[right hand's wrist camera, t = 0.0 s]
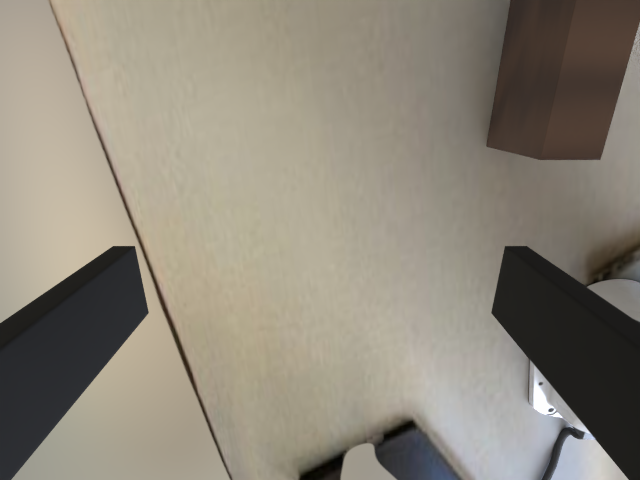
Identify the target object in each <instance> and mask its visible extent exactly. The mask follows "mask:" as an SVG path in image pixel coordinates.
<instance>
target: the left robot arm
mask: <svg viewBox="0 0 640 480" xmlns="http://www.w3.org/2000/svg"><path fill="white" fill-rule="evenodd" d="M587 288H589V289H590V290H592V291H593V292H595V293H596V294H597V295H599V296H600V297H602V298H603V299H605V300H606V301H608V302H609V303H611V304H612V305H614V306H615V307H617V308H618V309H619V310H621V311H622V312H624V313H625V314H627V315H628V316H630V317H631V318H633V319H635V320H637V321H639V322H640V283H639V282H637V281H633V280H628V279H612V280H606V281H601V282H598V283H595V284H592V285H589V286H587ZM529 404H530V405H531V406H532V407H533V408H534V409H535V410H536V411H538V412H540V413H543V414H545V415H549V416H553V417H560V418H563V419H564V420H565V421H567V422H568V423H569V424H570V425H571V426H572V427H573V428H574V429H573V428H571V427H568V428H565V429H563V430H562V431H561V433H560V434H559V436H558V439H557V441H556V443H555V445H554V449H553V453H552V456H551V460H550V463H549V465H548V467H547V469H546V471H545V474H544V476H543V478H542V480H550V479H551V477H552V475H553V473H554V471H555V469H556V466H557V463H558V460H559V456H560V452H561V449H562V446H563V443H564V441H565V439H566V438H567V437H568V436H569V435H572V436H573V437H575V438H577V439H595V438H594V437H593V436H592V434H591V433H590V432H589V431H588V429H587V428H586V427H585V426H584V425H583V423H582V422H581V421H580V420H579V419H578V417H577V416H576V415H575V414H574V413H573V411H572V410H571V409H570V408H569V406H568V405H567V404H566V403H565V402H564V400H563V399H562V398H561V397H560V396H559V394H558V393H557V392H556V391H555V389H554V388H553V387H552V386H551V385H550V383H549V382H548V381H547V380H546V379H545V377H544V376H543V375H542V374H541V372H540V371H539V370H538V369H537V368H536V366H535V365H534V364H533V363H532V362H531V360H530V379H529Z"/></svg>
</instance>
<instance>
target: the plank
mask: <svg viewBox="0 0 640 480" xmlns="http://www.w3.org/2000/svg"><path fill="white" fill-rule="evenodd" d="M639 22H640V0H511V3H510V9H509V15H508V21H507V27H506V33H505V39H504V45H503V51H502V57H501V63H500V69H499V75H498V81H497V87H496V93H495V99H494V105H493V111H492V117H491V123H490V129H489V135H488V141H487V147H491V148H495V149H499V150H503V151H507V152H511V153H515V154H519V155H523V156H527V157H531V158H535V159H539V160H600V159H601V155H602V152H603V148H604V145H605V141H606V138H607V134H608V131H609V127H610V124H611V120H612V117H613V113H614V110H615V106H616V103H617V99H618V96H619V92H620V89H621V85H622V82H623V78H624V75H625V71H626V68H627V64H628V61H629V57H630V54H631V50H632V47H633V43H634V40H635V36H636V33H637V29H638V26H639Z"/></svg>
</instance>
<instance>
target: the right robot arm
mask: <svg viewBox="0 0 640 480" xmlns="http://www.w3.org/2000/svg"><path fill="white" fill-rule="evenodd" d="M491 313H492V314H493V315H494V317H495V318H496V319H497V320H498V322H499V323H500V324H501V325H502V326H503V328H504V329H505V330H506V331H507V332H508V334H509V335H510V336H511V337H512V339H513V340H514V341H515V342H516V343H517V345H518V346H519V347H520V348H521V349H522V351H523V352H524V353H525V354H526V356H527V357H528V358H529V359H530V360H531V362H532V363H533V364H534V365H535V366H536V368H537V369H538V370H539V371H540V372H541V374H542V375H543V376H544V377H545V379H546V380H547V381H548V382H549V383H550V385H551V386H552V387H553V388H554V389H555V391H556V392H557V393H558V394H559V396H560V397H561V398H562V399H563V400H564V402H565V403H566V404H567V405H568V406H569V408H570V409H571V410H572V411H573V413H574V414H575V415H576V416H577V417H578V419H579V420H580V421H581V422H582V423H583V425H584V426H585V427H586V428H587V429H588V431H589V432H590V433H591V434H592V436H593V437H594V438H595V439H596V440H597V442H598V443H599V444H600V445H601V446H602V448H603V449H604V450H605V451H606V453H607V454H608V455H609V456H610V457H611V459H612V460H613V461H614V462H615V463H616V465H617V466H618V467H619V468H620V470H621V471H622V472H623V473H624V474H625V476H626V477H627V478H628V479H629V480H640V322H639V321H637V320H635V319H633V318H631V317H630V316H628V315H627V314H625V313H624V312H622V311H621V310H619V309H618V308H617V307H615V306H614V305H612V304H611V303H609V302H608V301H606V300H605V299H603V298H602V297H600V296H599V295H597V294H596V293H595V292H593V291H592V290H590V289H589V288H587V287H586V286H584V285H583V284H581V283H580V282H578V281H577V280H575V279H574V278H573V277H571V276H570V275H568V274H567V273H565V272H564V271H562V270H561V269H559V268H558V267H556V266H555V265H554V264H552V263H551V262H549V261H548V260H546V259H545V258H543V257H542V256H540V255H539V254H537V253H536V252H534V251H533V250H532V249H530V248H529V247H527V246H505V249H504V254H503V259H502V264H501V269H500V274H499V279H498V283H497V288H496V293H495V298H494V303H493V308H492V312H491ZM147 314H148V308H147V303H146V298H145V293H144V288H143V284H142V279H141V274H140V269H139V264H138V259H137V254H136V249H135V246H113V247H111V248H110V249H109V250H107V251H106V252H104V253H103V254H101V255H100V256H98V257H97V258H95V259H94V260H92V261H91V262H89V263H88V264H86V265H85V266H84V267H82V268H81V269H79V270H78V271H76V272H75V273H73V274H72V275H70V276H69V277H67V278H66V279H65V280H63V281H62V282H60V283H59V284H57V285H56V286H54V287H53V288H51V289H50V290H48V291H47V292H45V293H44V294H43V295H41V296H40V297H38V298H37V299H35V300H34V301H32V302H31V303H29V304H28V305H26V306H25V307H23V308H22V309H21V310H19V311H18V312H16V313H15V314H13V315H12V316H10V317H9V318H8V319H6V320H4V321H3V322H2V323H0V480H11V479H12V478H13V477H14V476H15V474H16V473H17V472H18V471H19V469H20V468H21V467H22V466H23V465H24V463H25V462H26V461H27V460H28V459H29V457H30V456H31V455H32V454H33V452H34V451H35V450H36V449H37V448H38V446H39V445H40V444H41V443H42V442H43V440H44V439H45V438H46V437H47V436H48V434H49V433H50V432H51V431H52V429H53V428H54V427H55V426H56V425H57V423H58V422H59V421H60V420H61V419H62V417H63V416H64V415H65V414H66V413H67V411H68V410H69V409H70V408H71V406H72V405H73V404H74V403H75V401H76V400H77V399H78V398H79V397H80V396H81V394H82V393H83V392H84V391H85V389H86V388H87V387H88V386H89V385H90V383H91V382H92V381H93V380H94V378H95V377H96V376H97V375H98V374H99V372H100V371H101V370H102V369H103V368H104V366H105V365H106V364H107V363H108V362H109V360H110V359H111V358H112V357H113V356H114V354H115V353H116V352H117V351H118V349H119V348H120V347H121V346H122V345H123V343H124V342H125V341H126V340H127V339H128V337H129V336H130V335H131V334H132V332H133V331H134V330H135V329H136V328H137V326H138V325H139V324H140V323H141V322H142V320H143V319H144V318H145V317H146V315H147Z"/></svg>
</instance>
